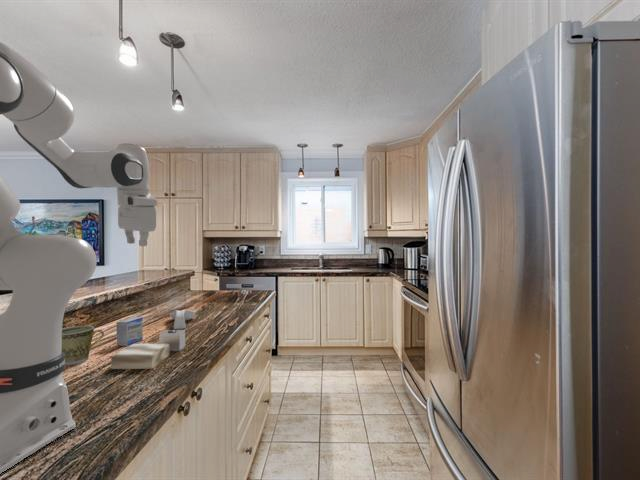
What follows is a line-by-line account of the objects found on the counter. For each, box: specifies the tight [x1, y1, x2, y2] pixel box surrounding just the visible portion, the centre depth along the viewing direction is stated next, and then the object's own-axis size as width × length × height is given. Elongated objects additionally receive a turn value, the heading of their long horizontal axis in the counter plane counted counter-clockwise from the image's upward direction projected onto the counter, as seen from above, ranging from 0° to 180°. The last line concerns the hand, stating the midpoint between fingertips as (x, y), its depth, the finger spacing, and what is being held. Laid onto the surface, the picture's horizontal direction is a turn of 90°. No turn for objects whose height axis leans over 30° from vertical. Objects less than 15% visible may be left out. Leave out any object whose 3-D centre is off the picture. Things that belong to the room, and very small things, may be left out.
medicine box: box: [115, 316, 144, 347], centre depth 118 cm, size 8×4×9 cm, turn 168°
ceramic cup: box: [62, 325, 105, 367], centre depth 100 cm, size 13×10×10 cm
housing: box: [158, 329, 186, 352], centre depth 111 cm, size 4×7×6 cm, turn 90°
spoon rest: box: [169, 309, 197, 330], centre depth 147 cm, size 24×12×7 cm, turn 20°
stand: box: [110, 343, 171, 370], centre depth 99 cm, size 11×12×4 cm
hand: (136, 244), depth 99 cm, fingers open, 8 cm apart
